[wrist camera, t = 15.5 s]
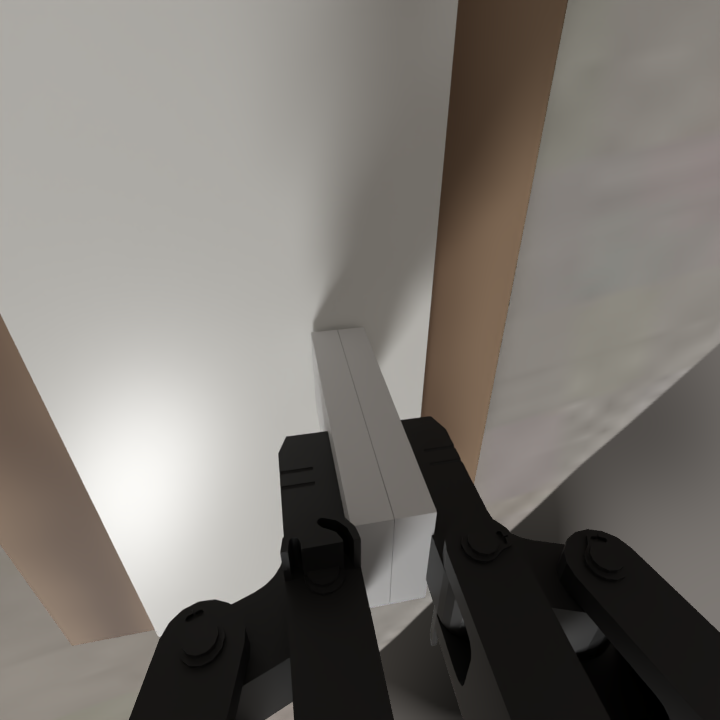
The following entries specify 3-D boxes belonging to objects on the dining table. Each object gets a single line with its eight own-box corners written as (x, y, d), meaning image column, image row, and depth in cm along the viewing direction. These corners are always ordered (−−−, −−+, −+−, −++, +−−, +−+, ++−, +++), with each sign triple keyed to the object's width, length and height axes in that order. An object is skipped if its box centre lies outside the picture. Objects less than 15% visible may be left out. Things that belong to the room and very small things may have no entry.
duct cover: (161, 618, 21) (158, 636, 20) (-310, -399, 6) (-375, -451, 6) (400, 571, 23) (405, 586, 22) (468, -302, 8) (488, -332, 7)
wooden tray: (100, 547, 25) (72, 645, 21) (-346, -318, 9) (-818, -605, 5) (426, 493, 28) (456, 570, 24) (508, -235, 12) (640, -375, 8)
